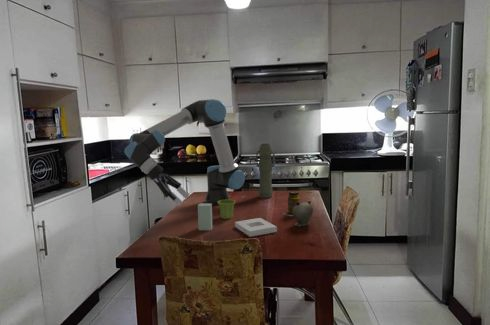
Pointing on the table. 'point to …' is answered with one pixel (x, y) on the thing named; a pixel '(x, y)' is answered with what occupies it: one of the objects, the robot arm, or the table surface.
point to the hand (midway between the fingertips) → (184, 200)
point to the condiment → (292, 202)
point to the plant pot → (226, 208)
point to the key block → (204, 216)
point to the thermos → (265, 170)
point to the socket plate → (255, 227)
